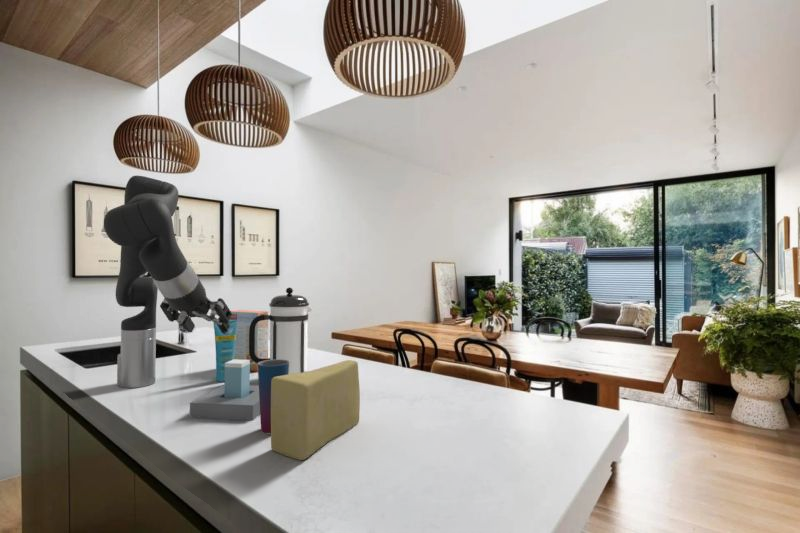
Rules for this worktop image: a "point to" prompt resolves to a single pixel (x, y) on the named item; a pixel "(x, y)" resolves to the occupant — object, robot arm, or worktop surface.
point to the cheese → (313, 408)
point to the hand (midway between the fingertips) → (208, 329)
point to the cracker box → (243, 336)
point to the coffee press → (285, 331)
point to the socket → (226, 405)
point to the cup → (268, 387)
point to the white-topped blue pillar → (237, 378)
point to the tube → (224, 348)
